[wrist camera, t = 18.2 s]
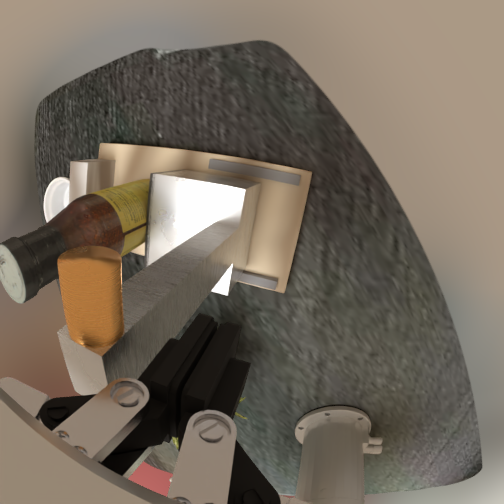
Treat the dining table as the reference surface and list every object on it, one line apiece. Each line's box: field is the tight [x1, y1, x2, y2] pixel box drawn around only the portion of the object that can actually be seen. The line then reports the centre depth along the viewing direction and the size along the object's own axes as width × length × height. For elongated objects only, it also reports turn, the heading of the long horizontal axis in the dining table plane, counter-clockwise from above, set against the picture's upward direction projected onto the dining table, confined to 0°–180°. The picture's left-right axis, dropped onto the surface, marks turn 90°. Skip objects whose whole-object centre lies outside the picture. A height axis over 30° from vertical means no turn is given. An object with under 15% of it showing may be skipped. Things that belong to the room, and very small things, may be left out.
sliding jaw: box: [57, 169, 261, 395], centre depth 19 cm, size 8×9×23 cm
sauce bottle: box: [0, 179, 150, 303], centre depth 21 cm, size 7×6×20 cm
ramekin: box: [44, 177, 70, 223], centre depth 33 cm, size 9×9×4 cm
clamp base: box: [69, 143, 312, 293], centre depth 29 cm, size 26×13×7 cm, turn 80°
